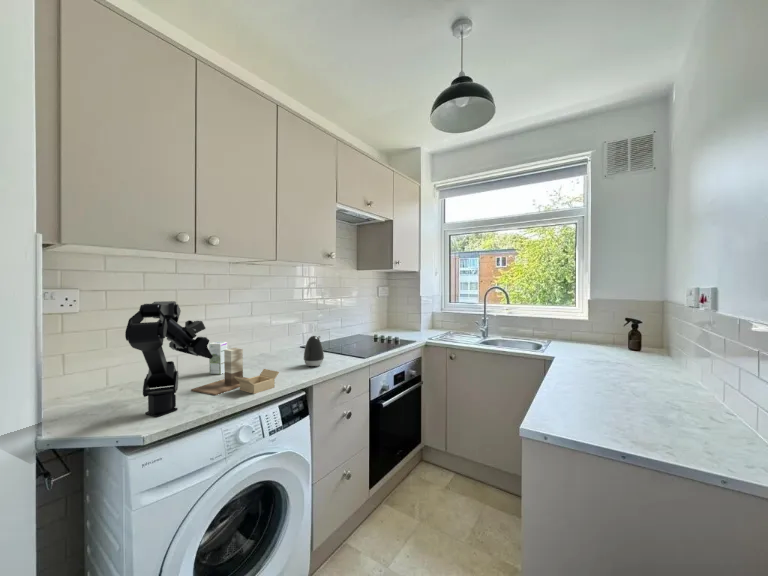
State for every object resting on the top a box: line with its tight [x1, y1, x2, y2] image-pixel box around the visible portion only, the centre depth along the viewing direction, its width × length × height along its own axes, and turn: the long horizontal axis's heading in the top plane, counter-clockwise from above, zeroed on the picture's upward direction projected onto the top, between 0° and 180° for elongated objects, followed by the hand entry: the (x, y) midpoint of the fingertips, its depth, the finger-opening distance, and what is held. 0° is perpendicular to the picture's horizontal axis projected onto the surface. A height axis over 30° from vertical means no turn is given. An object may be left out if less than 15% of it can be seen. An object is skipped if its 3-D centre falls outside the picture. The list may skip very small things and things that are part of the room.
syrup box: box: [208, 341, 228, 375], centre depth 149 cm, size 6×6×14 cm
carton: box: [234, 368, 280, 395], centre depth 125 cm, size 14×9×6 cm, turn 147°
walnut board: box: [190, 376, 249, 396], centre depth 129 cm, size 20×14×1 cm
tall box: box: [224, 347, 244, 386], centre depth 130 cm, size 5×5×14 cm
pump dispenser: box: [303, 335, 325, 367], centre depth 161 cm, size 10×10×15 cm
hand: (205, 356), depth 122 cm, fingers open, 9 cm apart
